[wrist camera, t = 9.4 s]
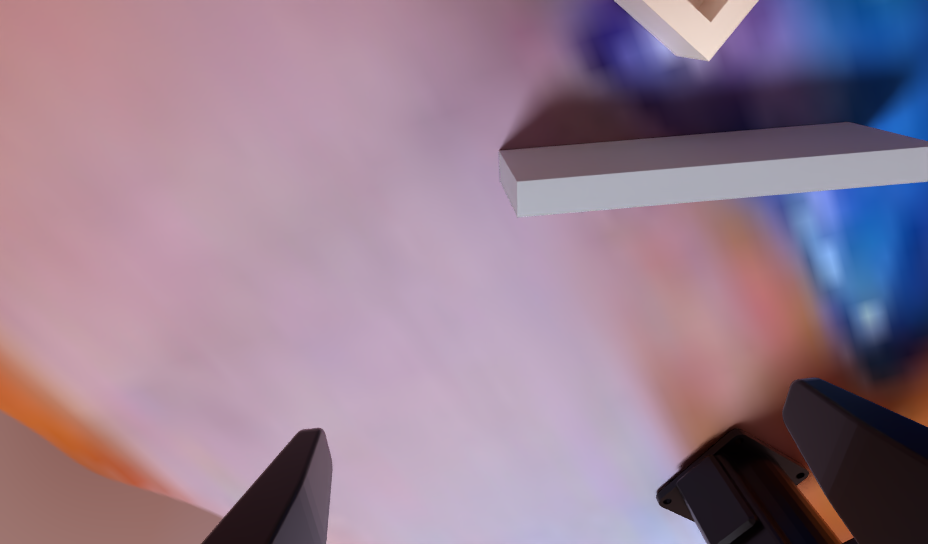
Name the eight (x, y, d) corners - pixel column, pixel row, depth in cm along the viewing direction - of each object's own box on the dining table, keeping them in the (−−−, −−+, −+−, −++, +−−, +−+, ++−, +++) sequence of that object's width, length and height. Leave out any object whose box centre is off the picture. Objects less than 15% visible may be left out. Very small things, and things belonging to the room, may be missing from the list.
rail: (848, 121, 20) (943, 145, 16) (840, 151, 20) (929, 180, 17) (499, 150, 19) (516, 181, 15) (499, 180, 20) (517, 217, 16)
